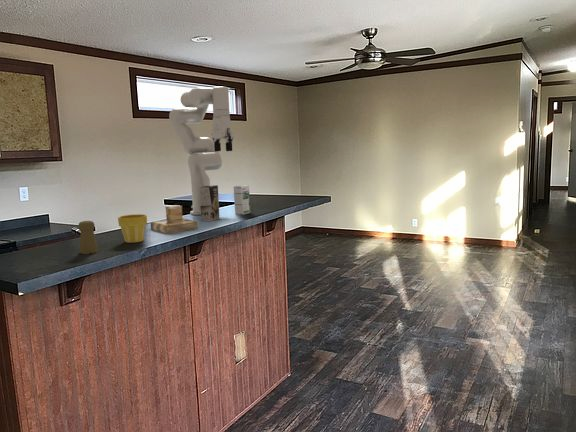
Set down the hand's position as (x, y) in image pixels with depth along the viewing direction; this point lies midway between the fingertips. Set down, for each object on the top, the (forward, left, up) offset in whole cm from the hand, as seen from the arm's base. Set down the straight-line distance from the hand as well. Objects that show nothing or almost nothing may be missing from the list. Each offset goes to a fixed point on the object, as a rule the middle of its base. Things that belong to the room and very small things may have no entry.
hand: (223, 151), depth 224 cm
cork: (+22, -72, -32) cm, 82 cm away
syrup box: (-8, +15, -32) cm, 37 cm away
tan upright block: (+5, -30, -29) cm, 42 cm away
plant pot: (+16, -53, -32) cm, 64 cm away
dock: (+4, -30, -32) cm, 44 cm away
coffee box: (-5, -6, -32) cm, 33 cm away
